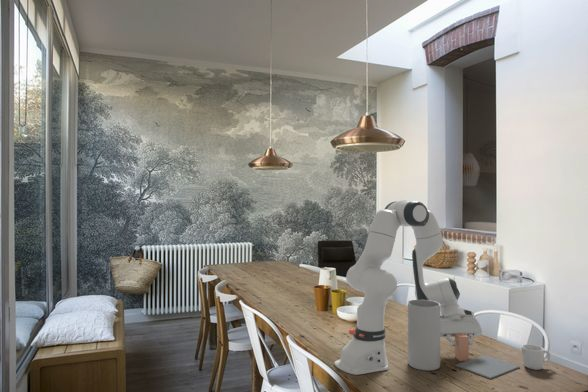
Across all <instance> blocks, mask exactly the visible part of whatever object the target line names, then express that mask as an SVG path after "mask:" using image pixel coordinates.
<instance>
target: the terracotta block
mask: <svg viewBox="0 0 588 392" xmlns="http://www.w3.org/2000/svg"><path fill="white" fill-rule="evenodd" d="M469 340H470V339H469V337H468V336H467V335H466V334H455V337H454V341H455V343H456V345H455V346H454V358H455V359H456V360H458V362H459V361H460V362H465V361H468V360H470V356H469V355H470V354H469V353H470V352H469V349H470V348H469V347H470V346H469Z"/></svg>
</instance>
